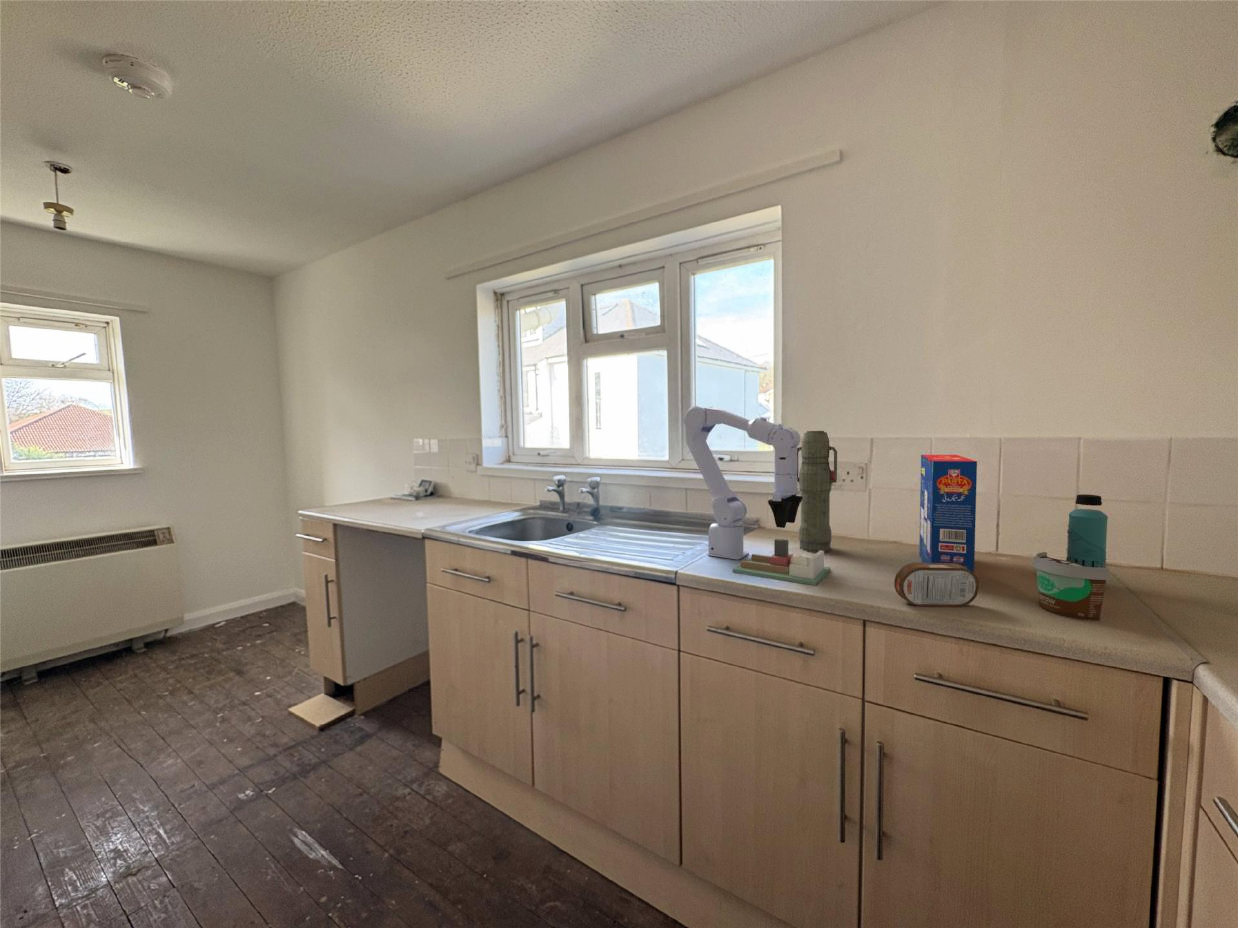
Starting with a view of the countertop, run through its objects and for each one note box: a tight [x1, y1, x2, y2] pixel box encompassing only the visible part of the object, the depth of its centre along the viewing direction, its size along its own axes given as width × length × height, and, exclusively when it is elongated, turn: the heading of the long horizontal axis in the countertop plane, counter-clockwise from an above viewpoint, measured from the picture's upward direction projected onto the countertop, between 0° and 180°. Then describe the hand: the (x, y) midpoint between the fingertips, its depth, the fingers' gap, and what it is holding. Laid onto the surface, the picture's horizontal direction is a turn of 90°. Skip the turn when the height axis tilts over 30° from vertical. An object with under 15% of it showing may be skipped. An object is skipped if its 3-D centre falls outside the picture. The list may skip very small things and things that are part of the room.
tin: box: [893, 562, 980, 608], centre depth 96 cm, size 15×3×8 cm, turn 84°
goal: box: [789, 550, 825, 579], centre depth 117 cm, size 6×10×4 cm, turn 144°
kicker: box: [770, 538, 794, 567], centre depth 121 cm, size 4×6×7 cm
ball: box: [790, 553, 807, 566], centre depth 119 cm, size 4×4×4 cm
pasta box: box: [918, 454, 978, 574], centre depth 119 cm, size 28×8×28 cm, turn 153°
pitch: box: [732, 553, 831, 586], centre depth 121 cm, size 20×14×2 cm
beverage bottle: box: [1065, 493, 1109, 568], centre depth 106 cm, size 6×7×20 cm
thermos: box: [797, 430, 838, 553], centre depth 142 cm, size 9×12×35 cm
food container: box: [1031, 551, 1111, 622], centre depth 91 cm, size 12×6×10 cm, turn 5°
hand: (785, 524), depth 128 cm, fingers open, 7 cm apart
